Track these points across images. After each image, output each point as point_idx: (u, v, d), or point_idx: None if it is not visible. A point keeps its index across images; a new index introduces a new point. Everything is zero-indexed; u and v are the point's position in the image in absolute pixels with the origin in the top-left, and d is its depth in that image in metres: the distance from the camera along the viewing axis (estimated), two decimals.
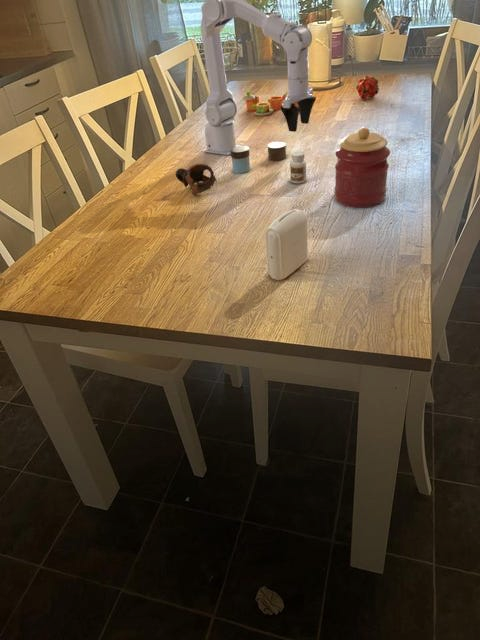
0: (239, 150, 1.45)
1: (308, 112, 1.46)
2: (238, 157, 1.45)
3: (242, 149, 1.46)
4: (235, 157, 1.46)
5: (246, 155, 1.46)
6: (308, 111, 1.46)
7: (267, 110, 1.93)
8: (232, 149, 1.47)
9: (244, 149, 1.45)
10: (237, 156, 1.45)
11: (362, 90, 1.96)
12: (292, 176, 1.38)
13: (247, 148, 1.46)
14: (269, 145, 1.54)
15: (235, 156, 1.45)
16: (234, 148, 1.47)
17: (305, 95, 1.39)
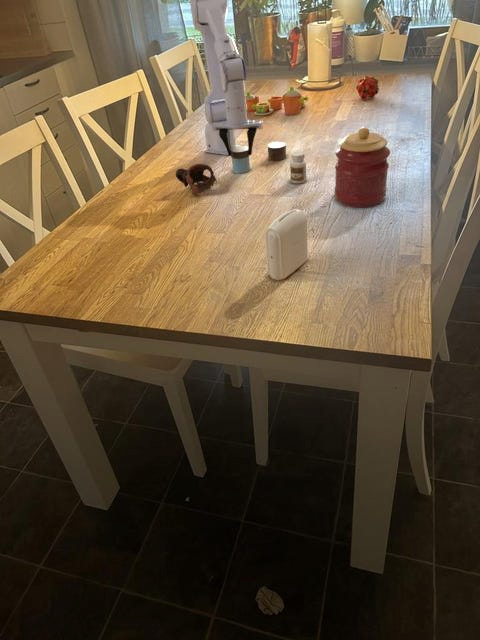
0: (239, 150, 1.45)
1: None
2: (238, 157, 1.45)
3: (242, 149, 1.46)
4: (235, 157, 1.46)
5: (246, 155, 1.46)
6: None
7: (267, 110, 1.93)
8: (232, 149, 1.47)
9: (244, 149, 1.45)
10: (237, 156, 1.45)
11: (362, 90, 1.96)
12: (292, 176, 1.38)
13: (247, 148, 1.46)
14: (269, 145, 1.54)
15: (235, 156, 1.45)
16: (234, 148, 1.47)
17: (232, 125, 1.40)
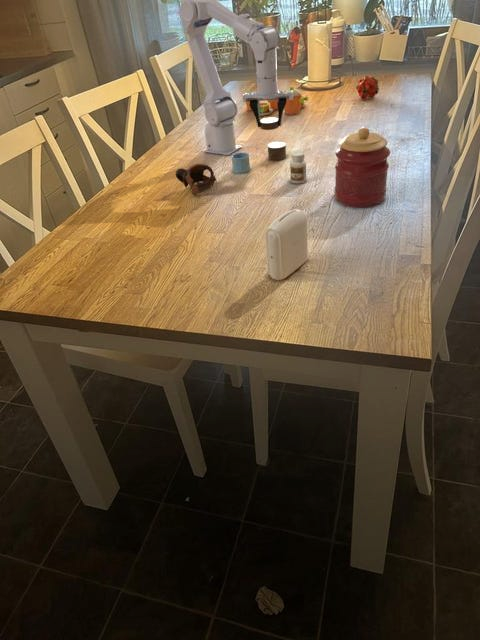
0: (269, 121, 1.47)
1: (278, 115, 1.45)
2: (268, 128, 1.47)
3: (271, 121, 1.47)
4: (265, 128, 1.47)
5: (276, 126, 1.47)
6: (278, 114, 1.45)
7: (267, 110, 1.93)
8: (262, 120, 1.48)
9: (274, 121, 1.47)
10: (267, 127, 1.47)
11: (362, 90, 1.96)
12: (292, 176, 1.38)
13: (277, 119, 1.48)
14: (269, 145, 1.54)
15: (265, 127, 1.47)
16: (264, 119, 1.49)
17: (263, 95, 1.41)
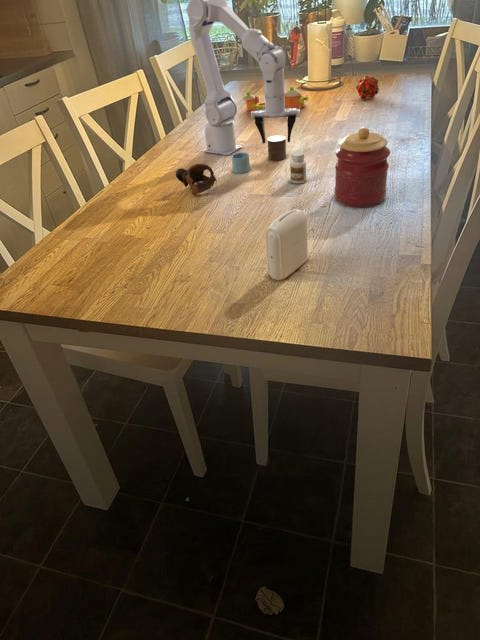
0: (276, 139, 1.51)
1: None
2: (275, 146, 1.51)
3: (279, 139, 1.52)
4: (272, 146, 1.52)
5: (283, 144, 1.52)
6: None
7: None
8: (269, 139, 1.53)
9: (281, 139, 1.51)
10: (274, 145, 1.51)
11: (362, 90, 1.96)
12: (292, 176, 1.38)
13: (284, 138, 1.52)
14: None
15: (272, 145, 1.51)
16: (271, 138, 1.53)
17: (270, 113, 1.46)
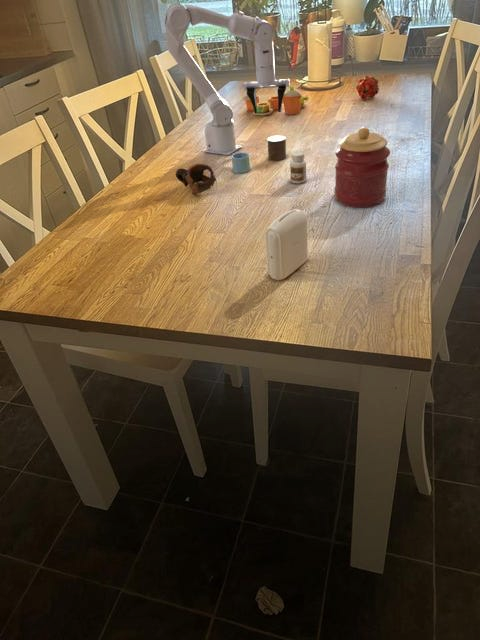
0: (276, 139, 1.51)
1: None
2: (275, 146, 1.51)
3: (279, 139, 1.52)
4: (272, 146, 1.52)
5: (283, 144, 1.52)
6: (278, 100, 1.57)
7: (267, 110, 1.93)
8: (269, 139, 1.53)
9: (281, 139, 1.51)
10: (274, 145, 1.51)
11: (362, 90, 1.96)
12: (292, 176, 1.38)
13: (284, 138, 1.52)
14: None
15: (272, 145, 1.51)
16: (271, 138, 1.53)
17: (261, 83, 1.53)
